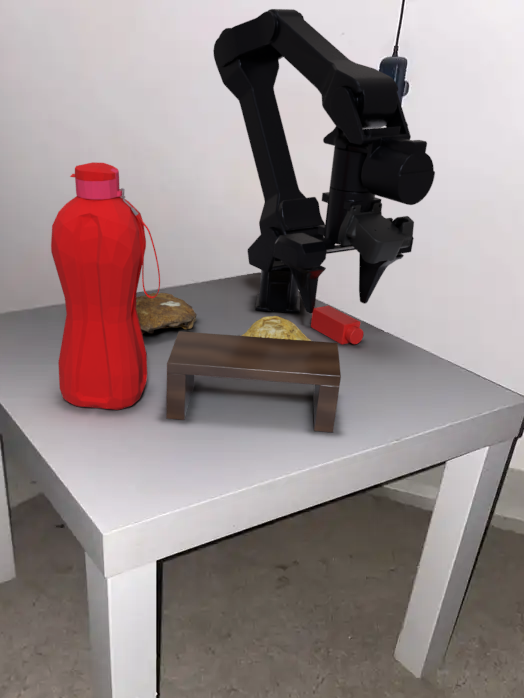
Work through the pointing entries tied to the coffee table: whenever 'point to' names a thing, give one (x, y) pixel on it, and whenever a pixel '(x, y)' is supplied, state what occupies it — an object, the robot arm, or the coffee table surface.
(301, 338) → the fossil
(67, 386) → the water bottle
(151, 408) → the coffee table surface
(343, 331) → the red square bottle
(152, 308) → the decorative rock
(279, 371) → the shelf
